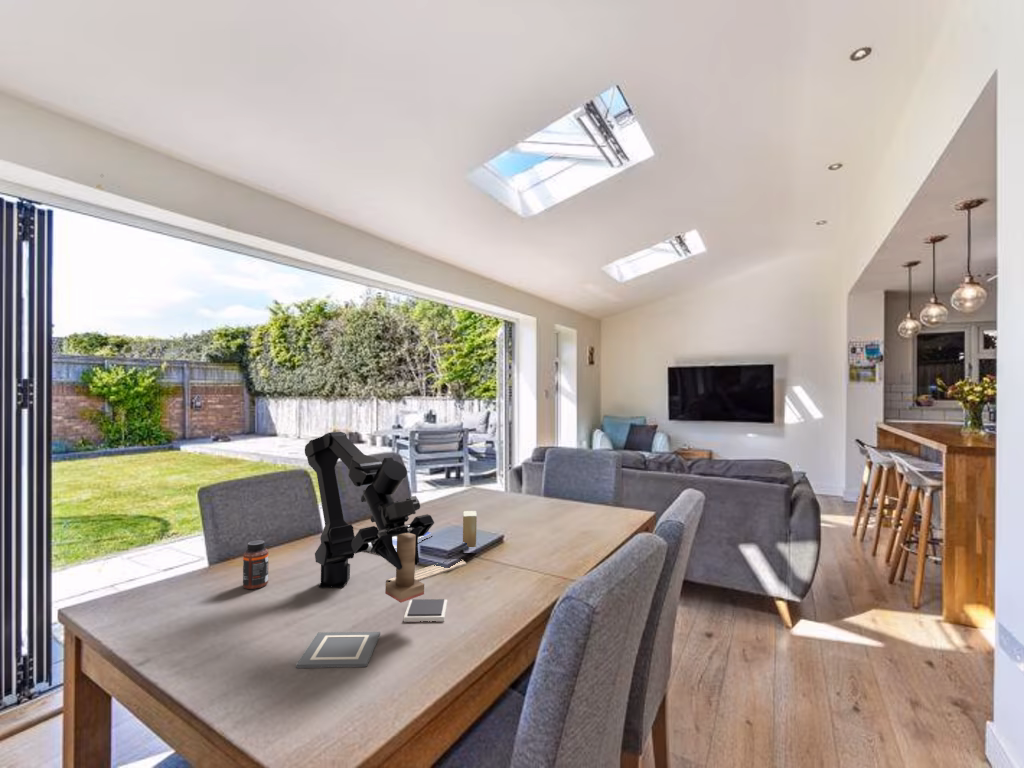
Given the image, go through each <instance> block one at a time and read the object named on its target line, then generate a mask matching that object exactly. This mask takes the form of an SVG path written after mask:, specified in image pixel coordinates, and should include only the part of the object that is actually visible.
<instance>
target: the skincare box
mask: <svg viewBox="0 0 1024 768" xmlns="http://www.w3.org/2000/svg"><path fill="white" fill-rule="evenodd" d="M477 516H478V514H477V510H464V511H463V513H462V543H463V542H465V543H467V546H468V547H476V548H477V522H478V520H477V519H478V518H477Z"/></svg>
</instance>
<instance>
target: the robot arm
mask: <svg viewBox="0 0 1024 768" xmlns="http://www.w3.org/2000/svg"><path fill="white" fill-rule="evenodd" d="M304 455H305V457H306V459H307V462H308V465H309V467H310V468H311V469H312V470H313V471H314V472H315V473H316V477H317V484H318V491H319V495H320V496H319V497H320V501H321V508H322V515H323V520H324V528H323V530H322V532H321V535H320V544H319V546H318V547H317V549H316V551H315V552H314V559H315V562H316V563H318V564H319V565H320V583H319V584H318V586H317V587H318V588H320V589H321V588H344V587H345V586H346V584H347V583H348V582H349V580H350V578H351V575H350V574H351V564H350V563H349V559H354V557H355V554H360V553H363V552H367V551H366V550H367V548H368V546H369V544H368V543H370V542H371V544H372V549H371V550H370V551H371V552H370V551H369V552H370V553H371V554H373V553H375V554H376V555H378V556H380V557H381V558H383V559H384V560H386V562H388V563H389V564H391V565H392V566H393V567H395V569H396V568H397V569H398V570H401V568H402V564H401V561H400V559H399V557H398V554H397V552H396V550H395V548H394V546H393V542H392V537H394V536H398V535H399V534H403V533H412V534H415V535H416V542H415V566H416V565H419V563H420V557H419V545H418V544H419V543H418V537H421V536H424V535H425V534H426V533H427V532H429V530H431V528H432V527H433V526H434V524H435V521H434V519H433V517H432V515H431V514H428V513H427V514H422V515H418V516H415V517H414V518H413V519H412V520H411V522H410V523H407V524H405V523H406V522H408V520H409V519H410V517H409V516H411V515H416V514H417V513H416V511H419V510H420V509H421V503H420V501H419V499H418V497H417V496H416V495H414V496H409V497H407V498H406V499H405V500H402V501H399V500H398V501H397V500H396V501H395V500H394V498H393V494H395V493H396V492H397V490H398V489H399V487H400V486H401V484H402V483H403V482H404V480H405V478H406V477H407V474H408V471H407V468H406V466H404V465H403V464H402V463H401V462H399V461H397V460H394V458H393V457H392V456H389V457H384V458H383V460H382V461H381V460H379V459H377V458H376V457H374V456H370V455H367V454H364V453H363V452H362V451H361V450H360V449H359V448H358V447H357V445H355V444H354V443H353V442H352V441H351V440H350V439H349V438H348V437H347V434H346V432H343V431H333V432H331V431H330V432H327V433H325V434H324V435H322V436H319V437H317V438H313V439H310V440H309V441H308V443H306V444H305V446H304ZM339 460H340V461H341V462H342V463H343V464H344V465H345V467H347V469H348V470H349V471H348V477H349V479H350V481H351V482H352V484H353V485H354V486H355V487H358V488H359V487H365V486H367V487H366V488H365V490H362V491H363V492H362V495H361V497H360V502H361V503H364V502H365V503H366V504H367V506H368V507H367V508H369V511H370V513H371V517H370V522H371V523H374V524H375V525H376V526H375V525H373V526H369V527H364V528H359V530H358V532H357V533H356V534H355V532H354V526H353V525H352V524H349V523H347V521H346V520H345V517H344V513H343V507H342V501H341V496H340V495H341V494H340V490H339V485H338V484H339V483H338V478H337V473H336V466H337V464H338V461H339Z"/></svg>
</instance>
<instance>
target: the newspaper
mask: <svg viewBox="0 0 1024 768" xmlns="http://www.w3.org/2000/svg"><path fill="white" fill-rule="evenodd" d="M461 560H462V561H460V562H458V563H456V564H455V565H453V566H451V567H450V568H444V567H441V566H436V565H435V564H431V565H428V566H426V567H423V568H420V569H416V570H415V575H414V579H416V580H418V581H420V582H422V581H424V580H425V579H429V578H432V577H435V576H438V575H440V574H444V573H447V572H449V571H453V570H456V569H458V568H461V567H464V566H467V562H466V561H464V559H461ZM434 565H435V566H434ZM394 580H396V576H395V577H392V578H389V579H386V581H387V582H388V581H390V582H391V581H394ZM387 582H386V583H387Z"/></svg>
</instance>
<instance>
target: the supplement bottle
mask: <svg viewBox="0 0 1024 768" xmlns="http://www.w3.org/2000/svg"><path fill="white" fill-rule="evenodd" d="M265 544H266V543H265V541H264V540H261V539H260V540H258V539H257V540H251V541H249V542H248V543H247V549H246V551H244V553H243V555H242V558H243V559H242V586H243V588H244V589H246V590H257V589H260V588H263V587H265V586H266V585H268V583H269V558H270V557H269V553H270V552H269V550H268V548H266V547H265Z"/></svg>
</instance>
